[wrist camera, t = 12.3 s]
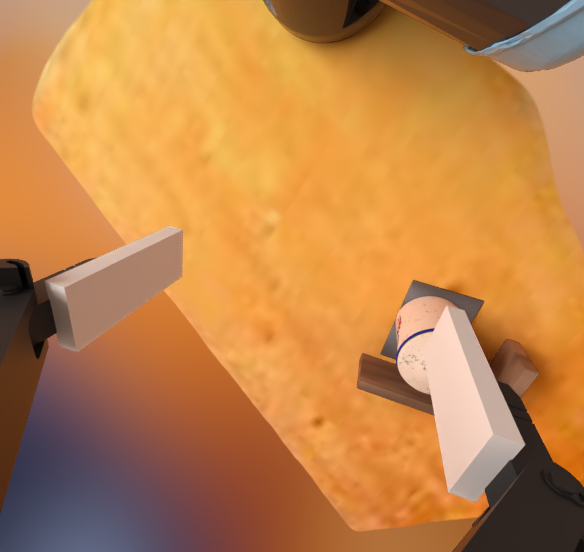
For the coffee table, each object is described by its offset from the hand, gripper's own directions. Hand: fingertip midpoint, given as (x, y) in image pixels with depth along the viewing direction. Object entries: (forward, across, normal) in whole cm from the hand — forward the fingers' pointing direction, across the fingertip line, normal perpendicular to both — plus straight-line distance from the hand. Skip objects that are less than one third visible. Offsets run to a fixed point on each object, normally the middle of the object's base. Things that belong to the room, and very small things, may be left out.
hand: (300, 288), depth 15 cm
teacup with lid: (+26, +16, -15) cm, 34 cm away
